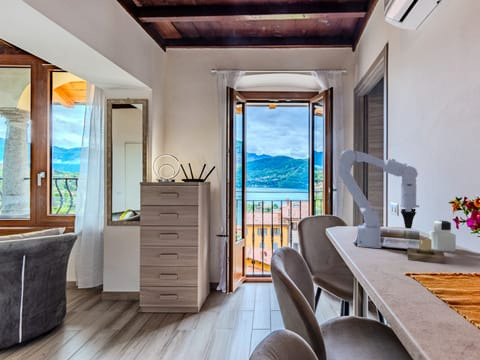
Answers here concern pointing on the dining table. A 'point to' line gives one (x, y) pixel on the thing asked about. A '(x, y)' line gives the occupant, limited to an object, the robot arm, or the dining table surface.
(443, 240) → the medicine bottle
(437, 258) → the square tan frame
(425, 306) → the dining table surface
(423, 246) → the brass peg
